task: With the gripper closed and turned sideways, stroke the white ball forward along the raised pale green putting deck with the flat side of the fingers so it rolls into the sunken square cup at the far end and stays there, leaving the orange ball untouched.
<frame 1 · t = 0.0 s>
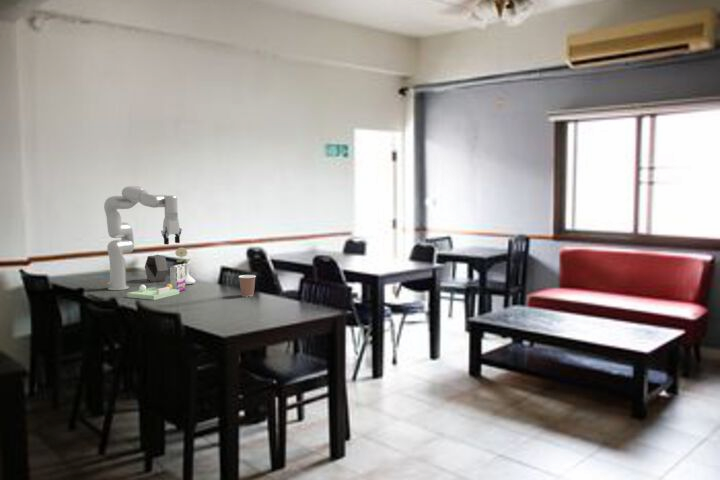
hand: (171, 243, 377), 31 cm above the table, fingers open, 9 cm apart
coffee cup: (247, 296, 375), on the table
green deck: (152, 295, 375), on the table
orange ball: (169, 290, 378), point 2 cm above the table, touching green deck
white ball: (142, 291, 376), point 2 cm above the table, touching green deck
flower in vase: (185, 284, 418), on the table
candy bar box: (178, 291, 390), on the table
planter: (156, 281, 432), on the table
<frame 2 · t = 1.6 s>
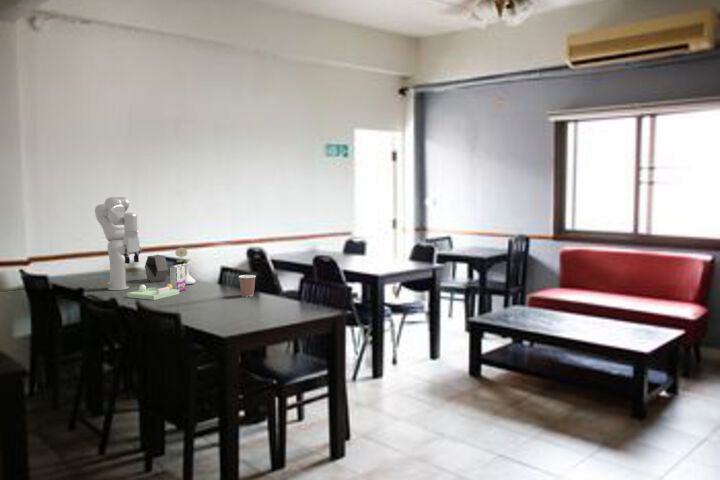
hand: (131, 262, 377), 20 cm above the table, fingers open, 6 cm apart
nothing on the table moved.
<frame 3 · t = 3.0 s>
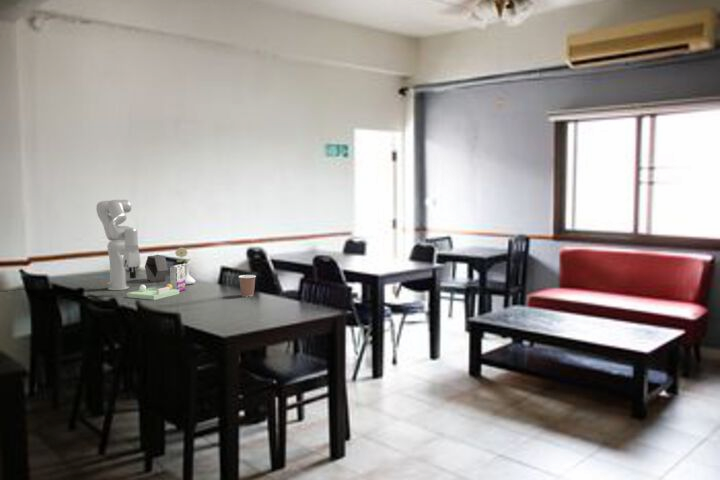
hand: (132, 278, 378), 10 cm above the table, fingers closed
nothing on the table moved.
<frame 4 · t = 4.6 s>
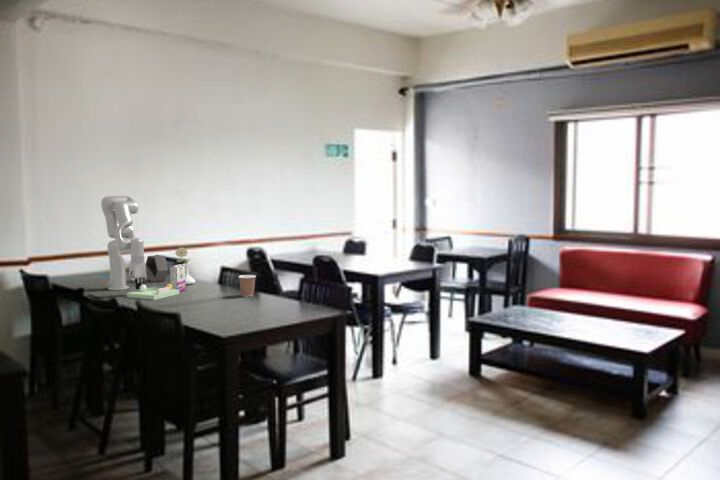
hand: (138, 288, 377), 4 cm above the table, fingers closed
white ball: (143, 291, 376), point 3 cm above the table, tilted 6°, touching green deck
everything else where it was.
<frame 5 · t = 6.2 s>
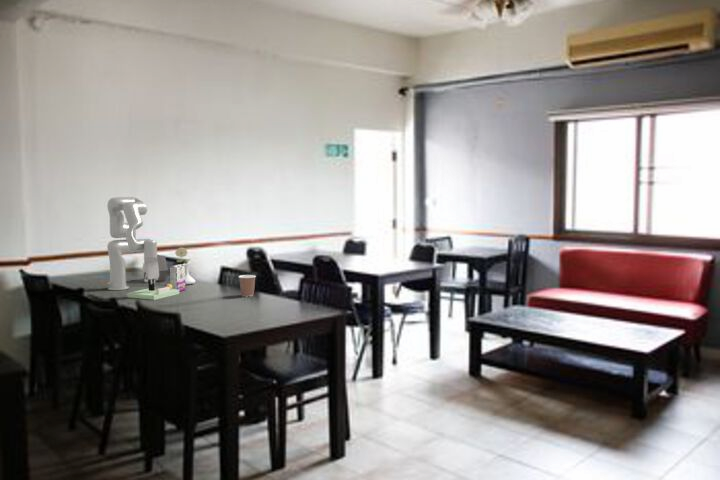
hand: (151, 290, 373), 3 cm above the table, fingers closed
white ball: (157, 295, 371), point 1 cm above the table, tilted 26°, touching green deck
everything else where it was.
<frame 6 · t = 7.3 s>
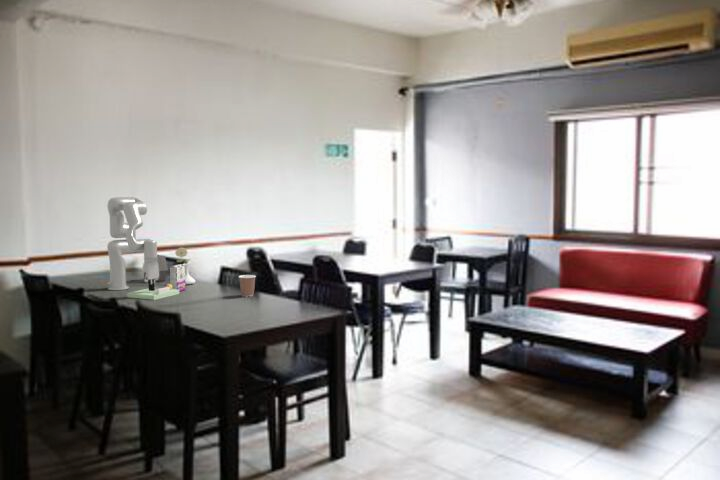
hand: (151, 290, 373), 3 cm above the table, fingers closed
white ball: (157, 296, 371), resting on green deck, tilted 15°
everything else where it was.
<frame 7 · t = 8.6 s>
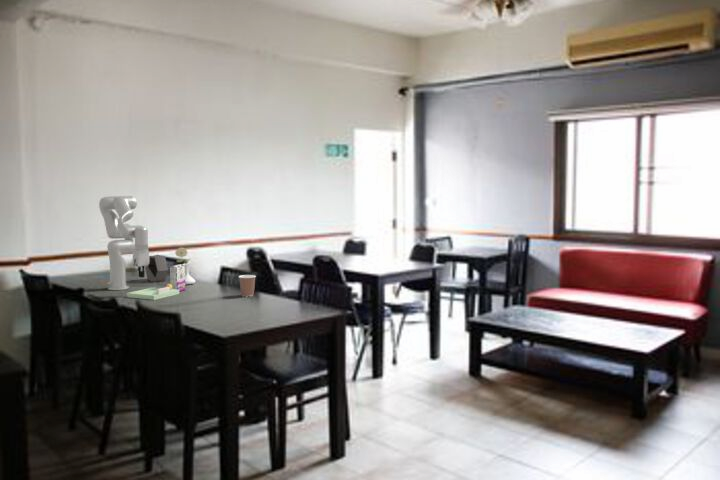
hand: (141, 277, 376), 11 cm above the table, fingers closed
white ball: (157, 296, 371), resting on green deck
everything else where it was.
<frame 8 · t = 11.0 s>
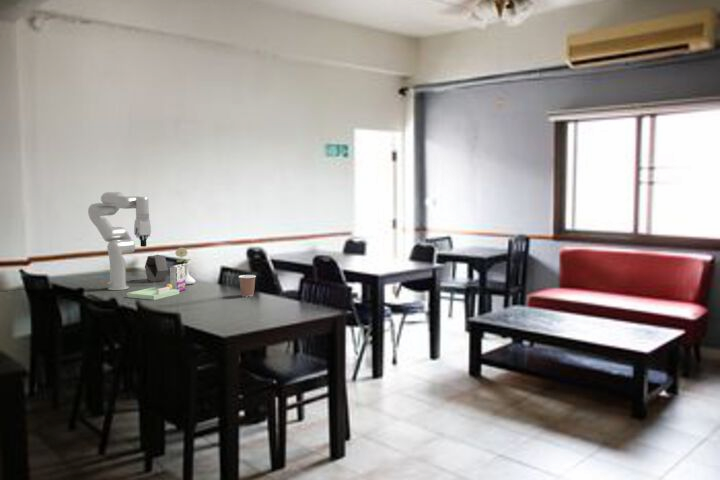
hand: (143, 246, 382), 29 cm above the table, fingers closed
white ball: (157, 295, 371), point 1 cm above the table, tilted 23°, touching green deck
everything else where it was.
at the end: white ball 0.6 cm from the target spot, point 0.6 cm above the table; white ball moved 12.2 cm from its start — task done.
